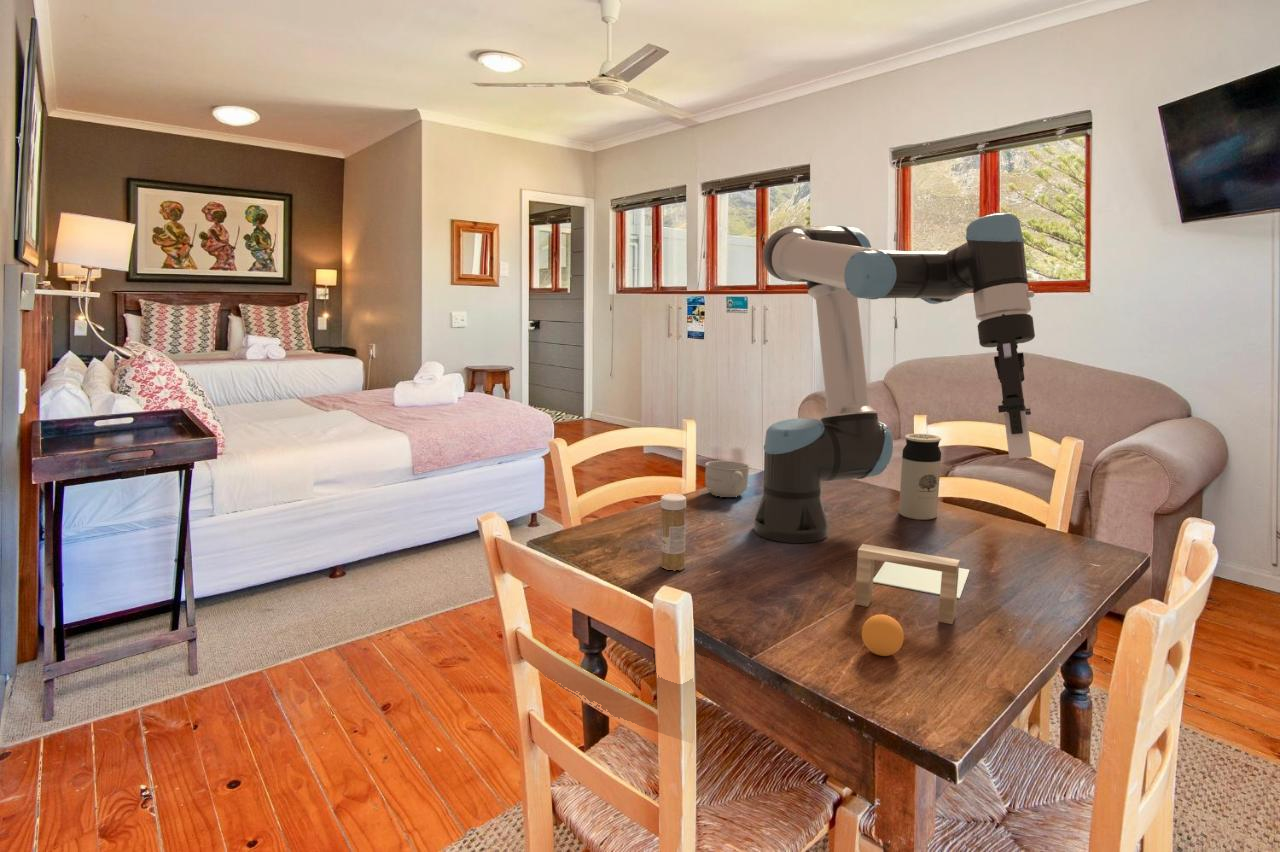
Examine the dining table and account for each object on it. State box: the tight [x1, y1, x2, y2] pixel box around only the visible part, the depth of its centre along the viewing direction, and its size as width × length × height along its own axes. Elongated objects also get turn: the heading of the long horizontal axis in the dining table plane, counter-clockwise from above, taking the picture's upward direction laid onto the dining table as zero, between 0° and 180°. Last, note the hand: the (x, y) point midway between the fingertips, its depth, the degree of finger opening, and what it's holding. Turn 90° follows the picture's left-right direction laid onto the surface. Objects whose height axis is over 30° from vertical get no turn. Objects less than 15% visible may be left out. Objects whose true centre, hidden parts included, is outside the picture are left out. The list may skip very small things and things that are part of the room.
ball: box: [861, 613, 905, 657], centre depth 100 cm, size 6×6×6 cm
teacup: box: [704, 460, 750, 498], centre depth 177 cm, size 14×11×8 cm
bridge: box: [854, 543, 960, 625], centre depth 113 cm, size 3×14×9 cm, turn 59°
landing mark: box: [873, 562, 971, 600], centre depth 127 cm, size 14×14×1 cm
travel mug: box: [898, 433, 942, 521], centre depth 161 cm, size 8×8×18 cm
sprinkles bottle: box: [660, 493, 687, 572], centre depth 131 cm, size 5×5×14 cm
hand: (1021, 457), depth 108 cm, fingers open, 13 cm apart
